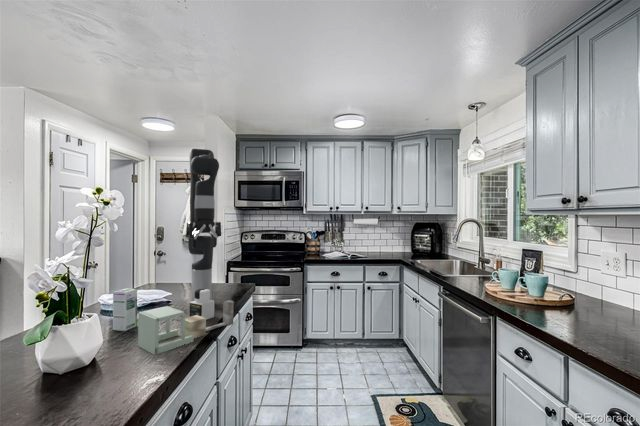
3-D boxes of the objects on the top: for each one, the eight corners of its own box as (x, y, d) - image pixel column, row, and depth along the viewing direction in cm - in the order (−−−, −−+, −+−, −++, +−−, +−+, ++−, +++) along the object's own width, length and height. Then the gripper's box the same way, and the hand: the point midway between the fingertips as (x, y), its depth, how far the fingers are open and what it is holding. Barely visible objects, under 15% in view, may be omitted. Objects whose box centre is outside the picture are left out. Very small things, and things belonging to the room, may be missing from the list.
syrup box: (125, 331, 118) (126, 292, 119) (112, 330, 120) (112, 291, 120) (137, 326, 124) (137, 288, 124) (124, 325, 125) (124, 287, 125)
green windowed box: (176, 334, 116) (176, 303, 116) (193, 341, 109) (193, 309, 109) (138, 345, 105) (138, 312, 105) (154, 354, 99) (154, 319, 99)
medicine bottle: (189, 319, 133) (189, 290, 133) (202, 314, 139) (203, 286, 140) (201, 321, 130) (201, 292, 130) (214, 317, 136) (215, 288, 136)
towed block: (226, 321, 130) (226, 299, 130) (235, 324, 126) (236, 302, 127) (181, 335, 115) (181, 310, 115) (190, 339, 111) (190, 313, 111)
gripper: (214, 208, 136) (213, 246, 136) (182, 207, 124) (182, 248, 124) (225, 207, 131) (224, 247, 131) (193, 206, 120) (193, 250, 120)
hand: (204, 248), depth 128 cm, fingers open, 8 cm apart
